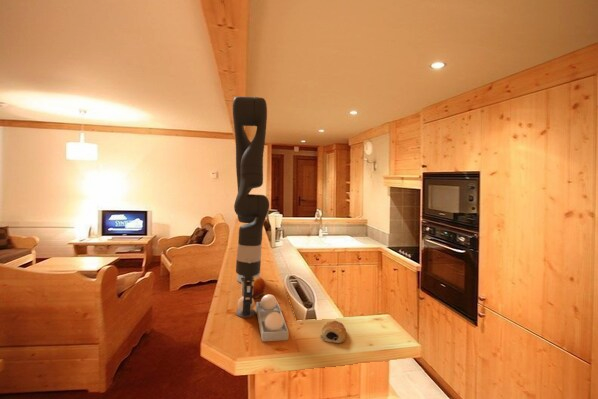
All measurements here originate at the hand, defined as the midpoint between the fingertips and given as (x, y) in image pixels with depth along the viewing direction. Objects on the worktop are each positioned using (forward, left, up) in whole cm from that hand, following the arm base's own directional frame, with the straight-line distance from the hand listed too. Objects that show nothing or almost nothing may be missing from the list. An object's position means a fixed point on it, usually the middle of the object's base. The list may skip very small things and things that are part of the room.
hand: (245, 310), depth 91 cm
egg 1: (+1, +7, +2) cm, 7 cm away
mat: (0, 0, -1) cm, 1 cm away
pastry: (+16, +24, -1) cm, 29 cm away
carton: (+7, +7, -1) cm, 10 cm away
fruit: (-14, +4, -1) cm, 14 cm away
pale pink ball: (0, 0, +2) cm, 2 cm away
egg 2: (+13, +7, +2) cm, 15 cm away
